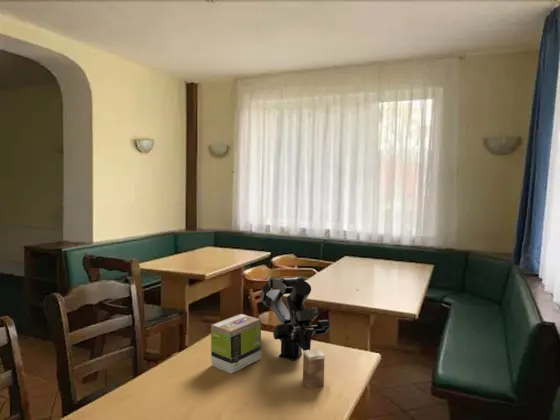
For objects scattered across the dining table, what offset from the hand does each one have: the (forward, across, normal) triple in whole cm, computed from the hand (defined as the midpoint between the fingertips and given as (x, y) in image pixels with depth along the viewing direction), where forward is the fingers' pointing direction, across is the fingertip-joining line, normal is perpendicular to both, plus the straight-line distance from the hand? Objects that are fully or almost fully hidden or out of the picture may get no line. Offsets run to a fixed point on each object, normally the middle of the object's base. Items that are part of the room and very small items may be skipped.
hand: (308, 354), depth 138 cm
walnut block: (+8, 0, +2) cm, 9 cm away
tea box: (-6, -20, +18) cm, 27 cm away
